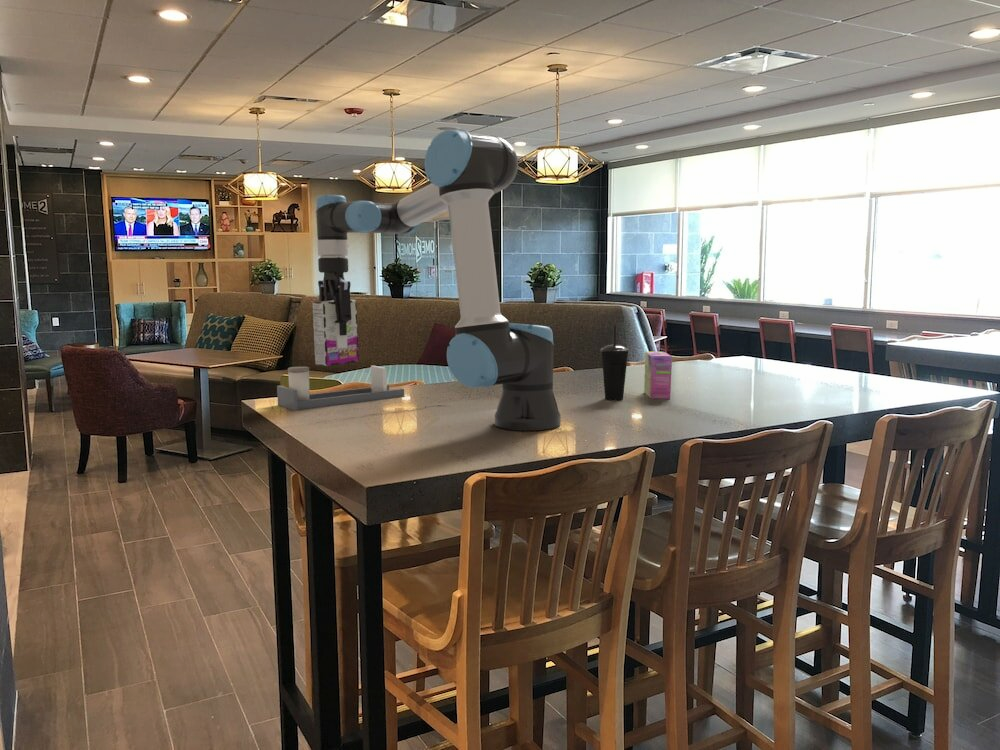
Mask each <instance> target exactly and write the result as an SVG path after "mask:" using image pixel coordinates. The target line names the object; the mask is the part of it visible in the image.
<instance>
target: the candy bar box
mask: <svg viewBox="0 0 1000 750" xmlns="http://www.w3.org/2000/svg"><path fill="white" fill-rule="evenodd" d="M350 302H351V320H349V321H348V322H347V348H337V347H336V323H335V321H336V320H337V315H336V306H335V302H334V300H332V301H320V302H319V301H312V303H311V304H312V306H311V307H312V321H313V322H312V324H313V341H314V343H313V345H314V364H315V365H316V366H322V367H331V366H339V365H345V364H350V363H351V364H352V363H358V362H359V340H358V339H359V335H358V334H359V333H358V312H357V310H358V309H357V299H356V300H355V299H350Z"/></svg>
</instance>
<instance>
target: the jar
mask: <svg viewBox="0 0 1000 750" xmlns="http://www.w3.org/2000/svg"><path fill="white" fill-rule="evenodd" d="M287 372H288V375H287V376H288V388H291V389H294V390H297V401H304V400H310V394H311V393H310V367H309V366H291V367H288V368H287Z"/></svg>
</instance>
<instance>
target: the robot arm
mask: <svg viewBox="0 0 1000 750" xmlns="http://www.w3.org/2000/svg"><path fill="white" fill-rule="evenodd" d="M430 142H431V143H430V145H428V147H427V150H426V153H425V157H424V172H425V175H426V177H427V179H428V180H429V181H430V184H427V185H426V186H424V187H421V188H420V189H417V190H416V191H414V192H412V193H411V194H409V195H406V196H405V197H403V198H401V199H399V200H397V201H395V202H392V203H390V202H389V203H385V202H373V201H370V200H356V201H347V198H346V197H345V195H341V194H321V195H319V196H317V198H316V210H315V214H316V232H317V233H316V234H317V235H316V236H317V241H316V243H317V244H316V245H317V255H318V256H319V257H320V258H318V259H317V261H318V263H317V264H318V272H319V273H323V280H318V282H317V284H318V292H319V294H318V295H319V296H318V297H319V301H318V302H320V301H332V300H334V302H335V306H336V315H337V320H336V321H335V323H336V347H337V348H347V322H348V321H349V320H351V302H350V300H351V285H352V284H351V281H349V280H348V281H347V280H345V275H344V273H348V272H349V259H348V257H346V256H348V252H349V251H348V249H349V244H348V233H349V234H353V233H354V234H356V233H357V234H358V233H359V234H362V233H364V234H394V235H397V234H398V235H406V234H413V233H415V232H416V231H417V230H418V228H419V227H420V225H421V224H422V223H424V222H427V221H429V220H431V219H433V218H435V217H437V216H440V215H442V214H444V213H445V212H447V211H448V217H449V226H450V227H449V228H450V235H451V243H452V253H453V261H454V270H455V279H456V287H457V297H458V306H459V311H460V313H459V314H460V319H459V321H458V322H457V323H456V324H455V326H454V331H455V336H453V337H452V338H451V340H450V341H449V343H448V344H449V345H447V348H446V349H447V350H446V361H447V365H448V368H449V370H450V373H451V374H452V375H453V377H454V378H455V380H457V381H458V383H460V384H461V385H463V386H464V387H468V388H470V389H479V388H480V389H481V388H482V389H483V388H490V387H493V386H496V385H497V386H498V385H502V386H501V394H500V398H499V401H498V404H497V407H496V411H495V412H494V426H496V427H498V428H500V429H504V430H511V431H527V432H528V431H532V432H533V431H544V430H551V429H556V428H558V427H559V426H561V413H560V411H559V408H558V407H559V406H558V404H557V399H556V397H555V394H554V346H555V344H554V334H553V330H552V328H551V327H549V326H545V325H539V324H527V323H526V324H525V323H515V322H514V323H513V322H509V320H508V319H507V318H506V317H505V316H504V315H502V314H503V313H501V305H500V296H499V287H498V277H497V269H496V260H495V250H494V244H493V243H494V242H493V234H492V225H491V215H490V208H489V207H490V206H489V202H490V200H491V198H492V197H493V196H494V195H495V194H497V193H499V192H501V191H503V190H505V189H507V187H508V186H510V185H511V184H512V183H513V181H514V180H515V179H516V176H517V173H518V169H519V161H518V156H517V153H516V150H515V149H514V147H513V146H512V145H511V144H510V142H509V141H507V140H506V139H504V138H502V137H500V136H498V135H488V134H484V133H478V132H477V133H476V132H472V131H466V130H464V129H446V130H443V131H441V132H439V133H438V134H437V135H436V136H434V138H432V140H431V141H430Z"/></svg>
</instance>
